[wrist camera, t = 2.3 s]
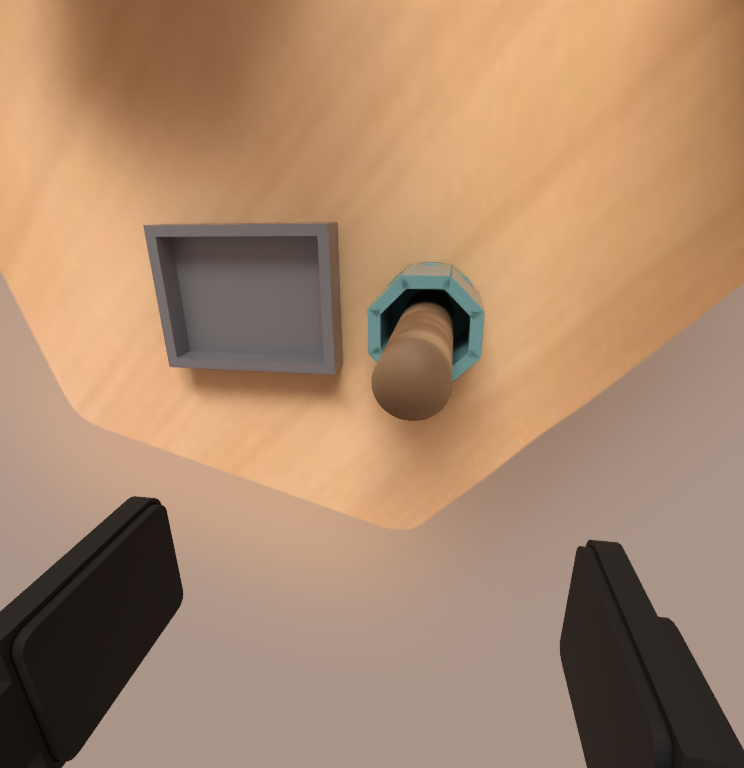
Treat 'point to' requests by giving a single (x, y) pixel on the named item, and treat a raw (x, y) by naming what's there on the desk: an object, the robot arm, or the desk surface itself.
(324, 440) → the desk surface
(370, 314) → the cup
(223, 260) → the tray
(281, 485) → the desk surface
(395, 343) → the dowel
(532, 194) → the desk surface
